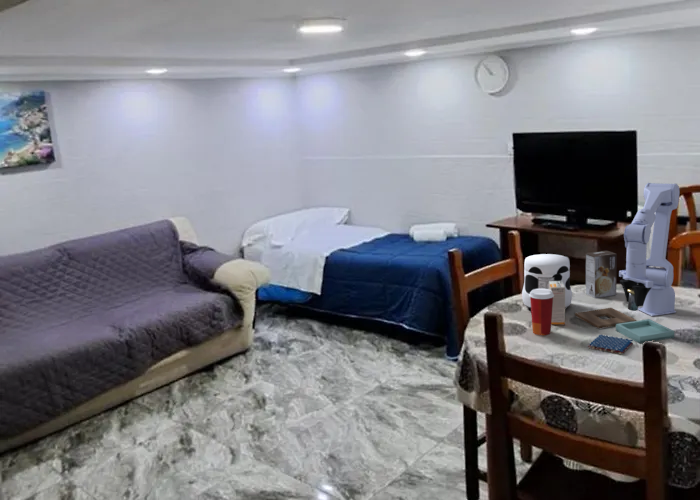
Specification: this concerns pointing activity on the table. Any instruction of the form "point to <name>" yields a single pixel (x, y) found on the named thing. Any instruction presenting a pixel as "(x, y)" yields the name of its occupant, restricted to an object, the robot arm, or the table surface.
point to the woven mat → (610, 344)
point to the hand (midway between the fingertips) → (634, 303)
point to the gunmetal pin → (631, 300)
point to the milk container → (545, 275)
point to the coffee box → (601, 273)
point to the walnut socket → (614, 319)
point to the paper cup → (541, 311)
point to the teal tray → (644, 331)
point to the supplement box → (558, 302)
